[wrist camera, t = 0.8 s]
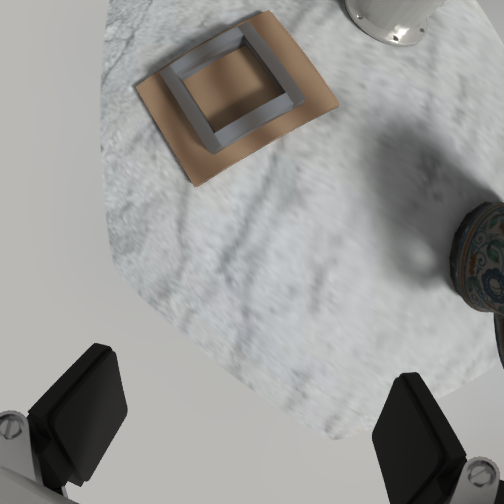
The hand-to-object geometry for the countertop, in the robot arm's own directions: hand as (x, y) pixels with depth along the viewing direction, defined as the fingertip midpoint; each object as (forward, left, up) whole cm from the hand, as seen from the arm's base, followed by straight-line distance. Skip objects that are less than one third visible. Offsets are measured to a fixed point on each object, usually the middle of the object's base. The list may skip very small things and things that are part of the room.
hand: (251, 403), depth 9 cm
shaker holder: (-6, -18, -29) cm, 35 cm away
